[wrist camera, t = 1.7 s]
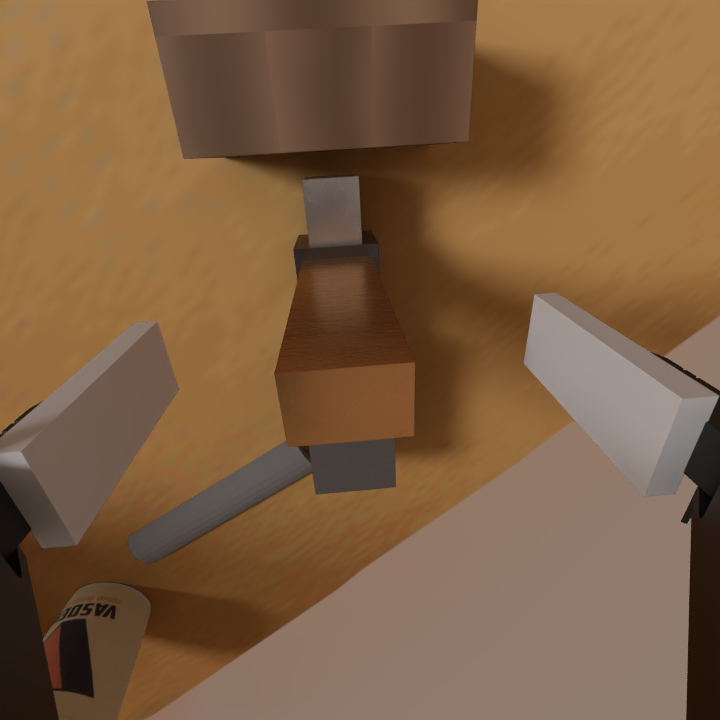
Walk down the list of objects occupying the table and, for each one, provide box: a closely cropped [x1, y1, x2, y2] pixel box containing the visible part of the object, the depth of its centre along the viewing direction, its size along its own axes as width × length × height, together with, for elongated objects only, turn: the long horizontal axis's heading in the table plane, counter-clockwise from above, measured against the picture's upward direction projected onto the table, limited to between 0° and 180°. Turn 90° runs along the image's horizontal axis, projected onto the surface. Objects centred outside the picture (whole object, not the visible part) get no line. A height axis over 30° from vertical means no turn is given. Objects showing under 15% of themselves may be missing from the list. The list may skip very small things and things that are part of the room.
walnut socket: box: [147, 0, 478, 159], centre depth 18 cm, size 12×5×7 cm, turn 93°
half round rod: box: [128, 441, 312, 563], centre depth 35 cm, size 4×20×2 cm, turn 124°
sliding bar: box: [274, 174, 415, 447], centre depth 20 cm, size 4×20×16 cm, turn 3°
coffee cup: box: [43, 582, 151, 720], centre depth 35 cm, size 9×9×12 cm
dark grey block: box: [309, 438, 396, 494], centre depth 28 cm, size 6×10×6 cm, turn 3°
